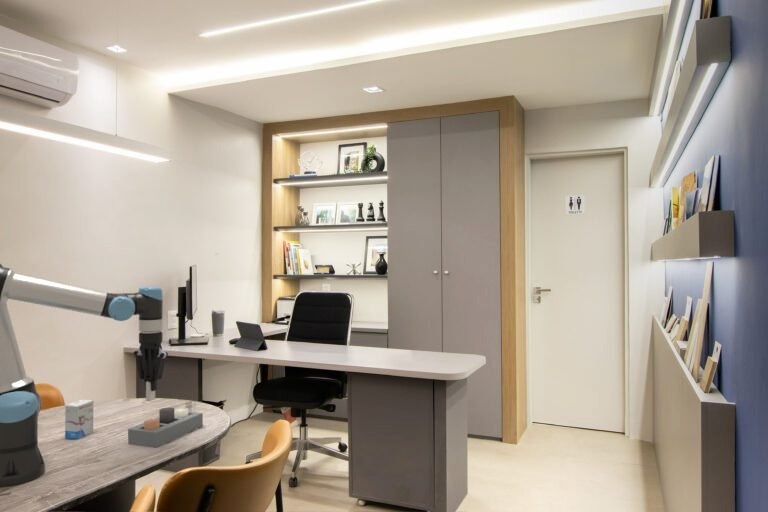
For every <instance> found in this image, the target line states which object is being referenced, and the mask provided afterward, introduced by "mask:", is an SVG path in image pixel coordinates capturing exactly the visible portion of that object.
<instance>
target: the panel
mask: <svg viewBox="0 0 768 512" xmlns="http://www.w3.org/2000/svg"><path fill="white" fill-rule="evenodd" d="M203 415H204V413H203V412H196V411H188V416H186V417H184V418H178V417H174V422H172V423H169V424H164V423H160V428H157V429H155V430H145V429H144V422H143V423H140V424H137V425H135V426H132V427H130V428H128V429H127V441H128V442H127V444H128V445H134V446H135V445H136V446H142V447H143V446H144V447H147V448H159V447H162V446H163V445H166V444H168V443H171V442H172V441H174V440H176V438H177V439H178V437H179V438H180V436H181V437H183V436H185V435H187V434H190V433H191V431H192V432H194V431H196V430H198V429H200V428H199V427H201V426H203V419H204V417H203ZM154 419H158V420H159V416H158V417H156V418H154ZM197 428H198V429H197ZM201 428H202V427H201ZM195 429H196V430H195ZM193 430H194V431H193ZM189 432H190V433H189ZM186 433H187V434H186ZM184 434H185V435H184ZM182 435H183V436H182Z"/></svg>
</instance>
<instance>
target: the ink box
mask: <svg viewBox="0 0 768 512" xmlns="http://www.w3.org/2000/svg"><path fill="white" fill-rule="evenodd" d="M94 402H95V401H94V400H92V399H79V400H76V401H73V402H70V403H67V404H66V405H65V409H64V410H65V413H64V415H65V418H64V419H65V421H64V424H65V427H64V432H65V433H64V438H65V439H72V440H78V439H80V438H82V437H85V436H87V435H89V434H91V433H92V434H93V433H94V406H95V405H94Z"/></svg>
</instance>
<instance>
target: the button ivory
mask: <svg viewBox="0 0 768 512" xmlns="http://www.w3.org/2000/svg"><path fill="white" fill-rule="evenodd" d="M188 412H189V408H188V407H179V408H174V417H178V418H184V417H186V416H188Z"/></svg>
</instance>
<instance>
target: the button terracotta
mask: <svg viewBox="0 0 768 512" xmlns="http://www.w3.org/2000/svg"><path fill="white" fill-rule="evenodd" d="M143 423H144V429H145V430H155V429H157V428H160V420H158V419H155V418H151V419H146V420H144V421H143Z"/></svg>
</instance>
